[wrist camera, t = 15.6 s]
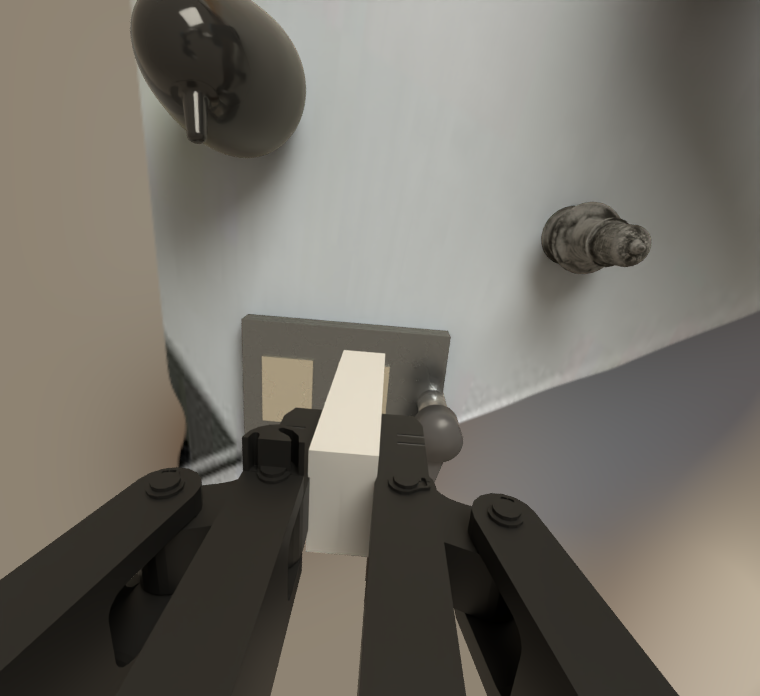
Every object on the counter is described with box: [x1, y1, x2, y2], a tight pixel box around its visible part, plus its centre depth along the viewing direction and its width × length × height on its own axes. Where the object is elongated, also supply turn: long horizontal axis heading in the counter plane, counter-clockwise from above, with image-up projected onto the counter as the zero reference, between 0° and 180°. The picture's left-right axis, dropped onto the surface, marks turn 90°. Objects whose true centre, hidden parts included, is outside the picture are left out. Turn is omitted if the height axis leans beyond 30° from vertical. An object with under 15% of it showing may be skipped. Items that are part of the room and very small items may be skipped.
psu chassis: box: [242, 314, 451, 434], centre depth 41 cm, size 20×14×6 cm
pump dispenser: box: [130, 0, 306, 158], centre depth 29 cm, size 10×10×15 cm
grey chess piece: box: [542, 202, 651, 274], centre depth 33 cm, size 6×6×12 cm
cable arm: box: [365, 404, 463, 581], centre depth 40 cm, size 19×4×6 cm, turn 162°
